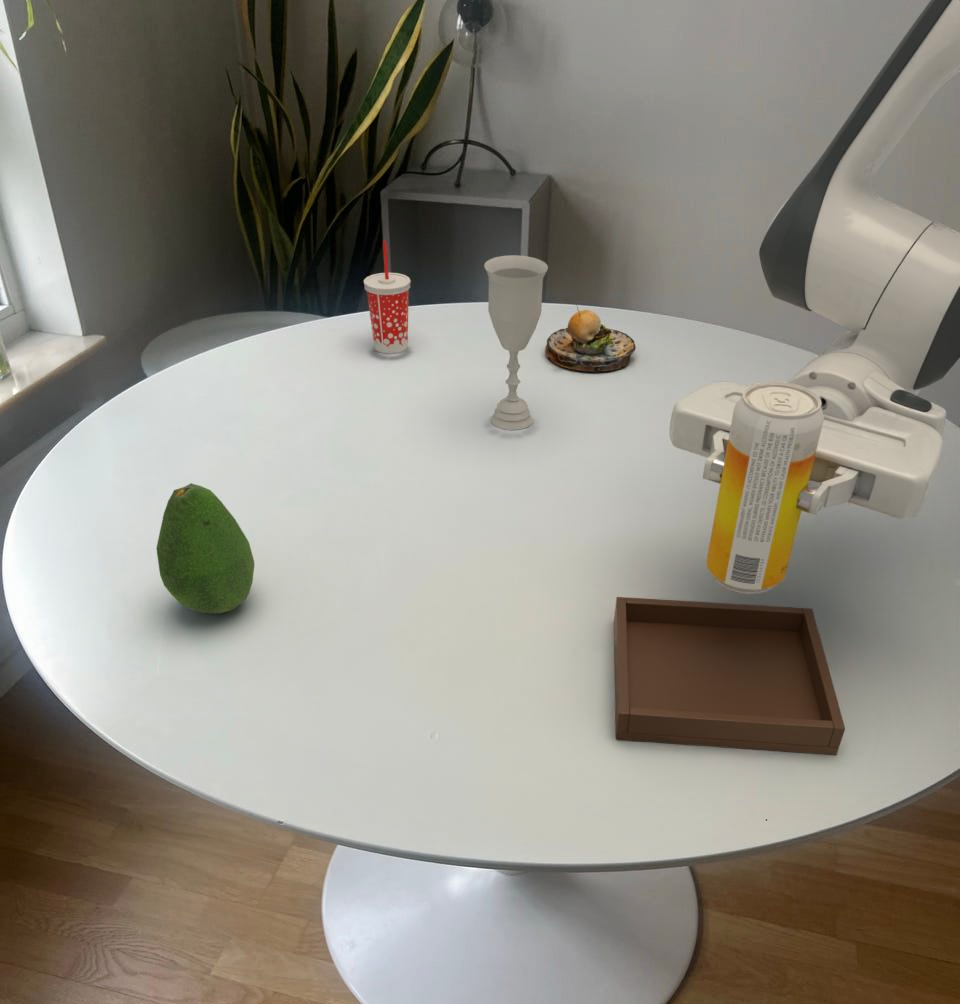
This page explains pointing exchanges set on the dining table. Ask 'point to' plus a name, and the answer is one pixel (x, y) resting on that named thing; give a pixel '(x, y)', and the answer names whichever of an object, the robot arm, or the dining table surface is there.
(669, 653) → the serving tray
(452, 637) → the dining table surface
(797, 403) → the beer can
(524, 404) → the chalice
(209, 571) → the avocado
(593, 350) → the burger
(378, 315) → the beverage cup
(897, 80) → the robot arm
